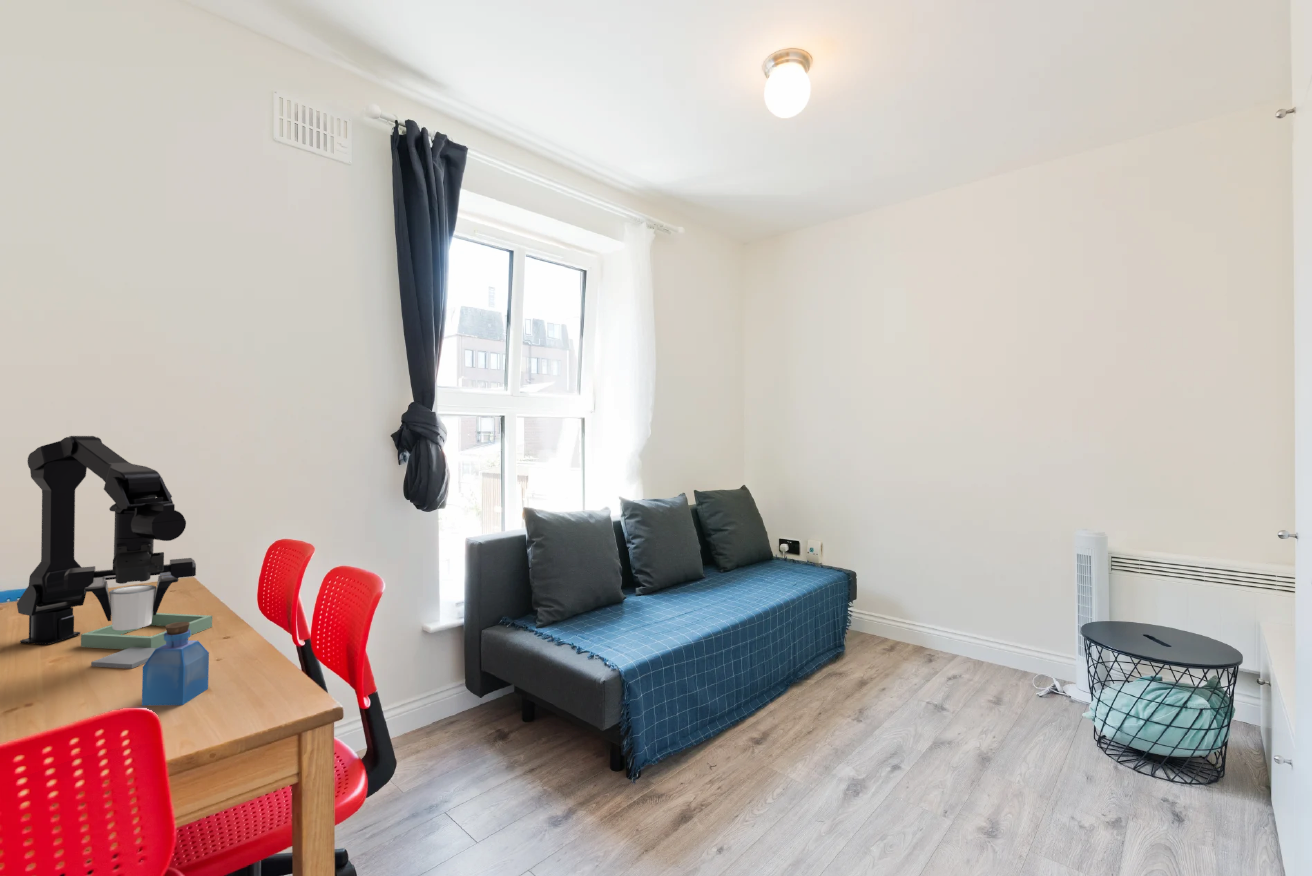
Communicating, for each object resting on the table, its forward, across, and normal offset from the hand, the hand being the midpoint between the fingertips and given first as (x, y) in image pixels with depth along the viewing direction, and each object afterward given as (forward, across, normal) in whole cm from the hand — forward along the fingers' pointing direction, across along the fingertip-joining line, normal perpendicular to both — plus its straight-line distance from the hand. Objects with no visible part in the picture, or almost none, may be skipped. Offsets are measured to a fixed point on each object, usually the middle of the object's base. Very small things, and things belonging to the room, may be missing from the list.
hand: (132, 617), depth 115 cm
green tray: (+8, +3, +14) cm, 16 cm away
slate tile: (+8, 0, 0) cm, 8 cm away
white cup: (+2, 0, 0) cm, 2 cm away
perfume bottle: (+8, +6, -25) cm, 27 cm away
